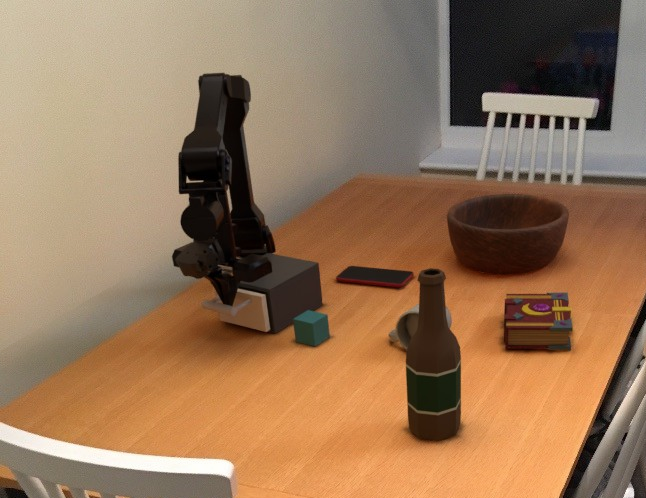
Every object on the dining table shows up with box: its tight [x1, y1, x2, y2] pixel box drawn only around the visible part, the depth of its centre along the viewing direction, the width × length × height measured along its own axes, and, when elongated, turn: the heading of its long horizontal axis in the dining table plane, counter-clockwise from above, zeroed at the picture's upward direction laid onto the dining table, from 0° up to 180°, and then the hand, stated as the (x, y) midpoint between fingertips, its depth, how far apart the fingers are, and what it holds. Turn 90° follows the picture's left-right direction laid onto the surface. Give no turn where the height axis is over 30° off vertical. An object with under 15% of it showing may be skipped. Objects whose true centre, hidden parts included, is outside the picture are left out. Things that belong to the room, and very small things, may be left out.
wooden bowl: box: [446, 193, 570, 276], centre depth 175 cm, size 25×25×10 cm
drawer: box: [201, 287, 271, 333], centre depth 155 cm, size 19×11×7 cm, turn 146°
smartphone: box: [335, 265, 415, 288], centre depth 172 cm, size 7×1×15 cm
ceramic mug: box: [388, 303, 453, 351], centre depth 144 cm, size 11×8×8 cm
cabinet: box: [239, 253, 324, 334], centre depth 158 cm, size 15×13×9 cm
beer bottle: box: [405, 267, 462, 442], centre depth 116 cm, size 8×8×24 cm
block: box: [292, 310, 330, 347], centre depth 149 cm, size 4×4×4 cm
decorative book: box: [503, 291, 574, 351], centre depth 147 cm, size 11×16×5 cm
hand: (228, 307), depth 150 cm, fingers closed
